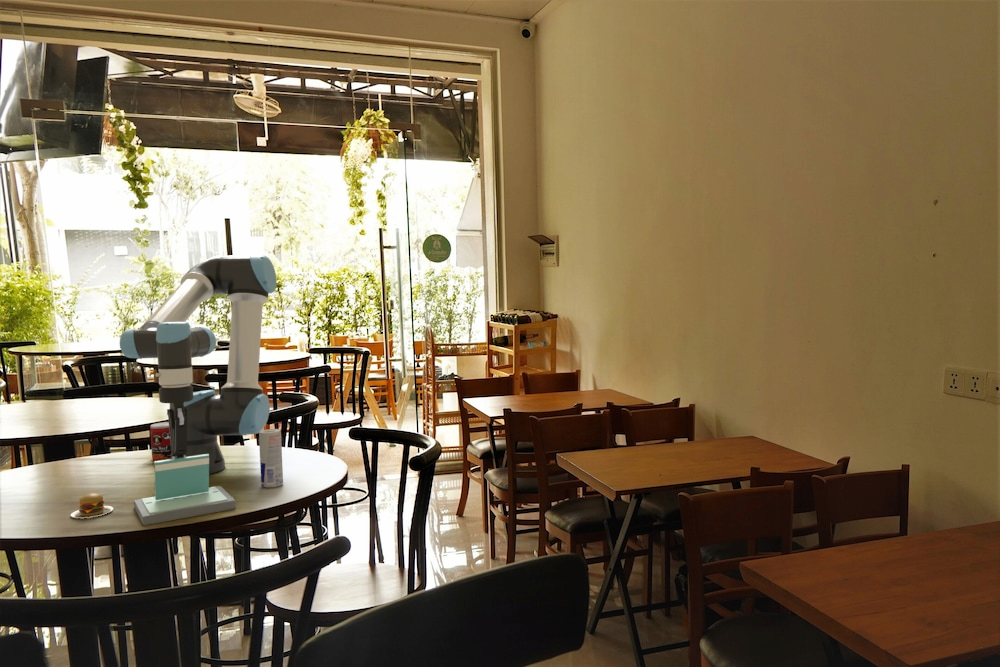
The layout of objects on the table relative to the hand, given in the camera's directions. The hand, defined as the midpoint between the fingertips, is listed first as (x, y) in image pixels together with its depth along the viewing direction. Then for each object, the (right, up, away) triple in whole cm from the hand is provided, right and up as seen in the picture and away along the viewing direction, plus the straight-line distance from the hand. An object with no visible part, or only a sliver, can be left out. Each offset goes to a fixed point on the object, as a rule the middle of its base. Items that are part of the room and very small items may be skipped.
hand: (180, 481), depth 173 cm
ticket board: (+2, -6, -2) cm, 7 cm away
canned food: (-28, -4, +52) cm, 60 cm away
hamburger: (-19, -8, -4) cm, 21 cm away
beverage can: (+17, -5, +17) cm, 24 cm away
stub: (+1, -4, -1) cm, 4 cm away
